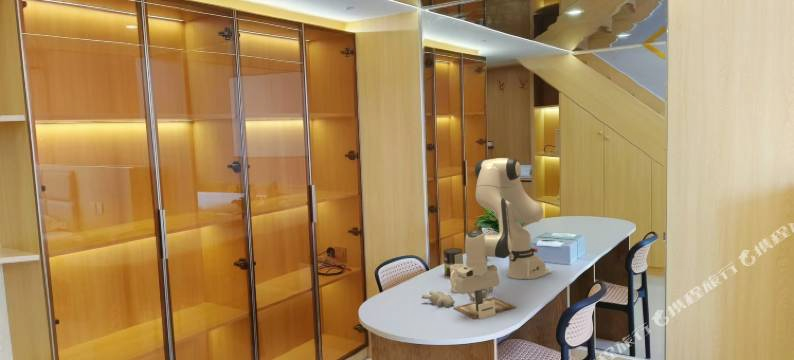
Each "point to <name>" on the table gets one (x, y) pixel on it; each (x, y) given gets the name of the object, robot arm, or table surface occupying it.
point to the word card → (486, 309)
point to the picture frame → (471, 308)
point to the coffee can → (452, 259)
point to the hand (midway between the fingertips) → (478, 299)
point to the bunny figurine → (439, 299)
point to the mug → (454, 275)
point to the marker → (478, 298)
